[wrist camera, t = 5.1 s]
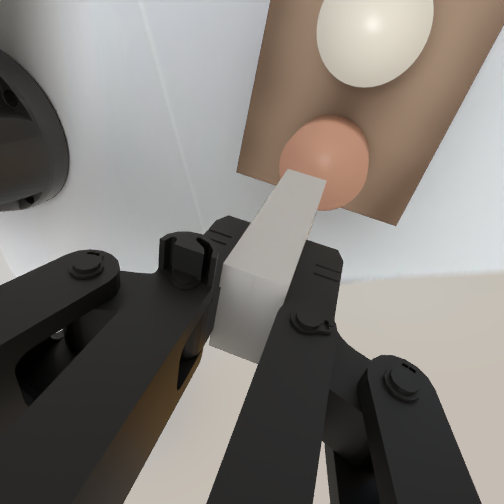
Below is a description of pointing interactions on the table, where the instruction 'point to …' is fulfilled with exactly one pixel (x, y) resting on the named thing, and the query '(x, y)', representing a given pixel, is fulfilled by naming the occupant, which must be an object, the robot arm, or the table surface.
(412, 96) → the button board
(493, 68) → the table surface
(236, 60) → the table surface
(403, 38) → the cream button
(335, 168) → the terracotta button
